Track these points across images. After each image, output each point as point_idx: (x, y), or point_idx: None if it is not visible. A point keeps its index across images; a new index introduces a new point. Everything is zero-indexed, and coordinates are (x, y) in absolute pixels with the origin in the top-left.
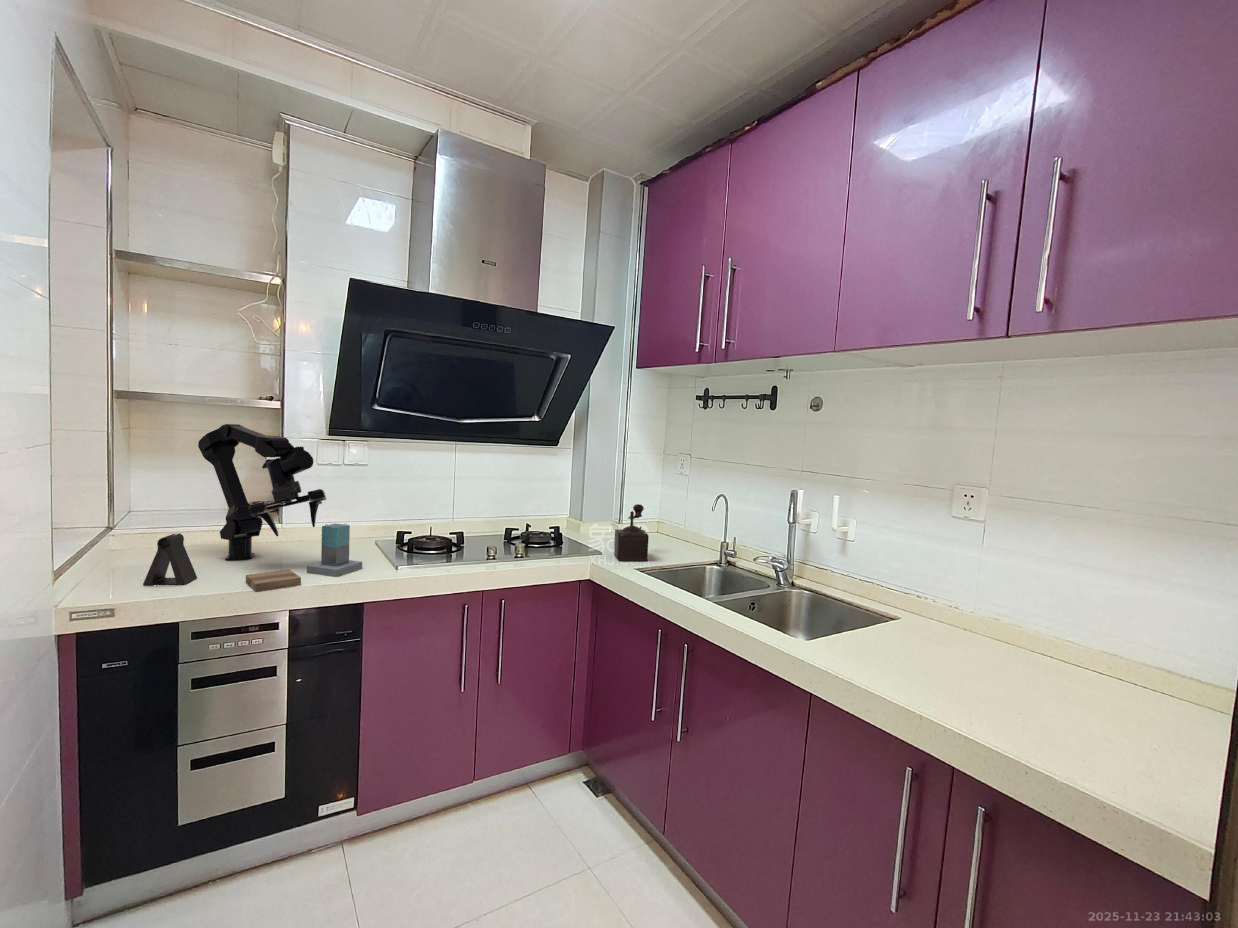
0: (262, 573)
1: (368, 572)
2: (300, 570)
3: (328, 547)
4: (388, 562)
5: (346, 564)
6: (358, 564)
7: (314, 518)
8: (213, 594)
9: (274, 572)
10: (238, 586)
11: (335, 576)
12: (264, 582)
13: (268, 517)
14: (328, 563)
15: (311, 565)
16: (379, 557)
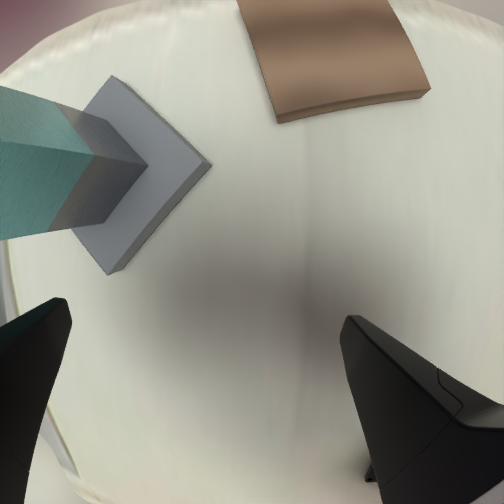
0: (377, 83)
1: None
2: (234, 215)
3: (76, 129)
4: (9, 239)
5: None
6: None
7: (5, 325)
8: (464, 23)
9: (334, 82)
10: (429, 63)
11: (128, 86)
12: None
13: (485, 422)
14: (121, 140)
15: (184, 160)
16: (27, 311)
